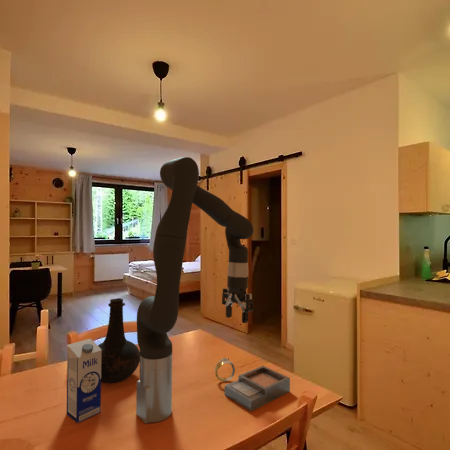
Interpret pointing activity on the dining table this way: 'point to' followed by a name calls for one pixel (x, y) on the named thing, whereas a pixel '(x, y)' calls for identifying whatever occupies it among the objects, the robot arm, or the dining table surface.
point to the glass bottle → (117, 348)
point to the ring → (221, 365)
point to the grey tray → (257, 387)
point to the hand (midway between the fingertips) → (236, 319)
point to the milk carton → (83, 380)
